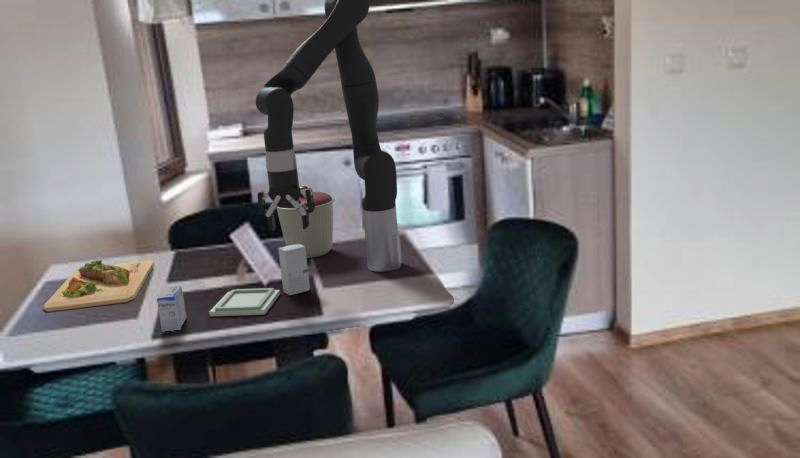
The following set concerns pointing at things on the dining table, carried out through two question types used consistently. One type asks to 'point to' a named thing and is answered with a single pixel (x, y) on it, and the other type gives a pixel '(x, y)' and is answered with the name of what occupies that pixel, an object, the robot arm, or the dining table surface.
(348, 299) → the dining table surface
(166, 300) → the medicine box
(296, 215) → the canister
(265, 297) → the light green square tray
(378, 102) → the robot arm
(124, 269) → the cutting board
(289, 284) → the skincare box
